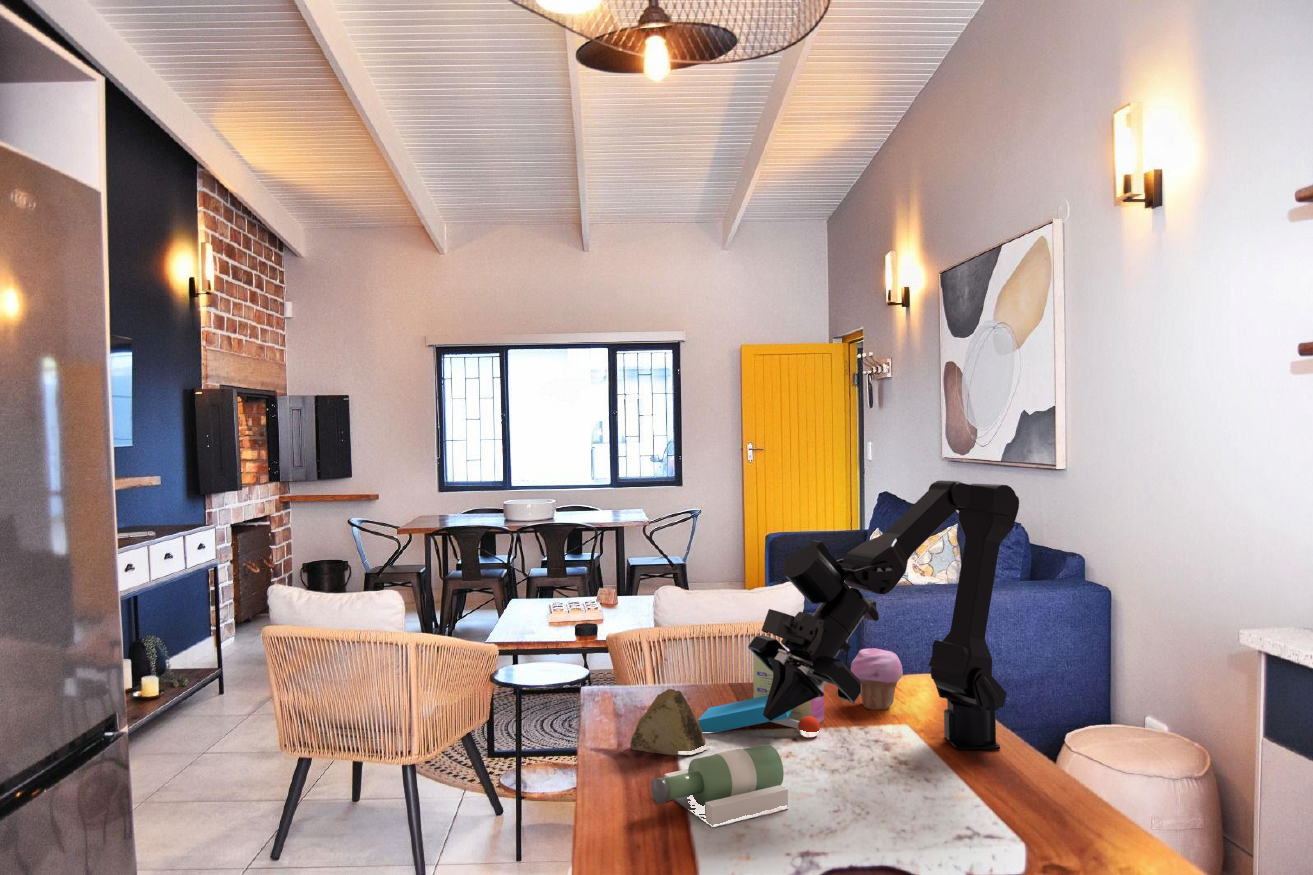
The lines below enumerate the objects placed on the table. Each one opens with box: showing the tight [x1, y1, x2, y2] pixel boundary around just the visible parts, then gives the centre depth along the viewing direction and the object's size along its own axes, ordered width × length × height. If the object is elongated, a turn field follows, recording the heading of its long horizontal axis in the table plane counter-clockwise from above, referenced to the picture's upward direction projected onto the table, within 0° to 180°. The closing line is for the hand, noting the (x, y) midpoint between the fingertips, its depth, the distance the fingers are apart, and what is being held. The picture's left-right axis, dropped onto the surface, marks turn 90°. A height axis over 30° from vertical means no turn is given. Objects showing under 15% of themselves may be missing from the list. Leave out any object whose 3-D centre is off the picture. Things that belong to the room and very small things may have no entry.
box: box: [752, 644, 825, 724], centre depth 146 cm, size 10×6×12 cm, turn 58°
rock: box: [629, 688, 707, 756], centre depth 133 cm, size 11×9×10 cm
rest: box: [664, 768, 789, 826], centre depth 113 cm, size 11×12×2 cm
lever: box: [697, 696, 821, 733], centre depth 140 cm, size 7×7×18 cm
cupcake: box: [850, 647, 904, 711], centre depth 152 cm, size 9×9×10 cm
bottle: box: [650, 743, 785, 806], centre depth 112 cm, size 6×6×17 cm
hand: (766, 718), depth 116 cm, fingers closed
